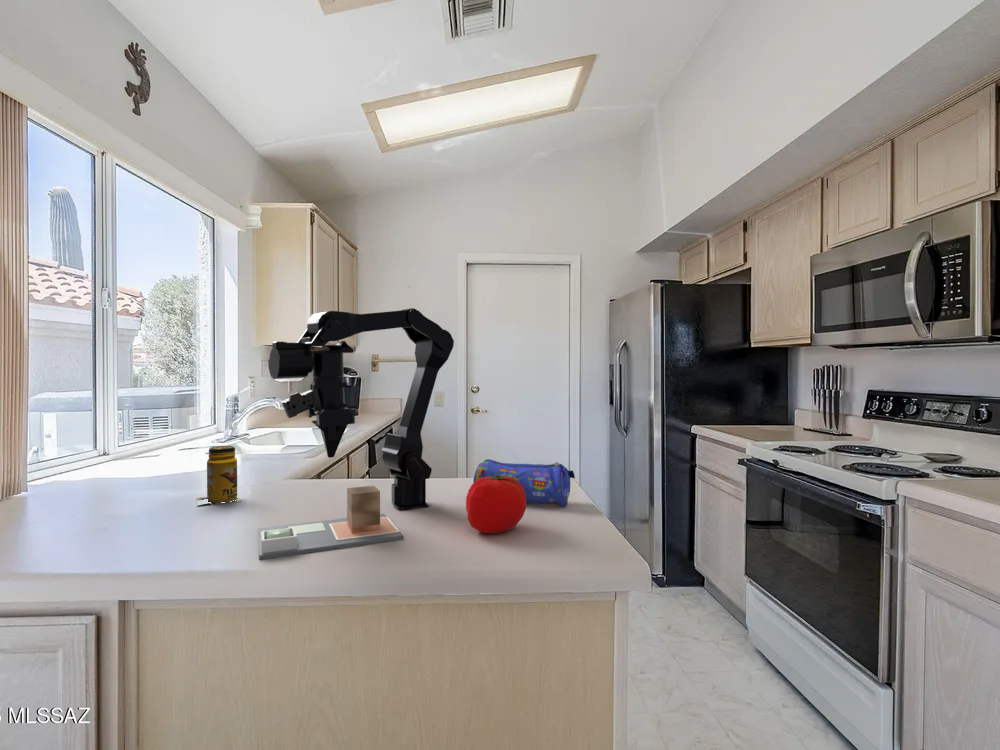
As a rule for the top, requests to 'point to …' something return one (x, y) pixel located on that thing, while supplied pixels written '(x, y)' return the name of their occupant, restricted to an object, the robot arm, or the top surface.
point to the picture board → (322, 537)
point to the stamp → (363, 509)
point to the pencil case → (533, 480)
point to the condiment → (221, 475)
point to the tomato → (495, 504)
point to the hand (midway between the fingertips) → (330, 457)
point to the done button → (278, 533)
